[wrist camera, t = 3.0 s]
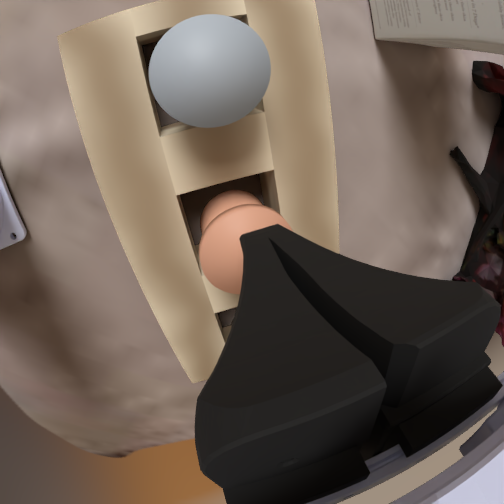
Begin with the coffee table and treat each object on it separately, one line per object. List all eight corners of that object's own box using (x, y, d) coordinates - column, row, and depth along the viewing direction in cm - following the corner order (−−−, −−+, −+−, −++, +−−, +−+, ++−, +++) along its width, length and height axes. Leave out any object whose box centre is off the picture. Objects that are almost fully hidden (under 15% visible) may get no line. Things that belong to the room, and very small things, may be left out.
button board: (186, 350, 25) (192, 383, 22) (76, 43, 12) (57, 36, 9) (320, 308, 27) (337, 336, 24) (286, -2, 14) (311, -16, 11)
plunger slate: (164, 128, 13) (164, 141, 11) (144, 41, 11) (137, 30, 8) (254, 106, 14) (278, 114, 11) (238, 22, 12) (260, 6, 9)
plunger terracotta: (204, 265, 18) (213, 305, 15) (183, 195, 15) (188, 225, 13) (277, 244, 18) (299, 278, 16) (266, 173, 16) (290, 197, 13)
